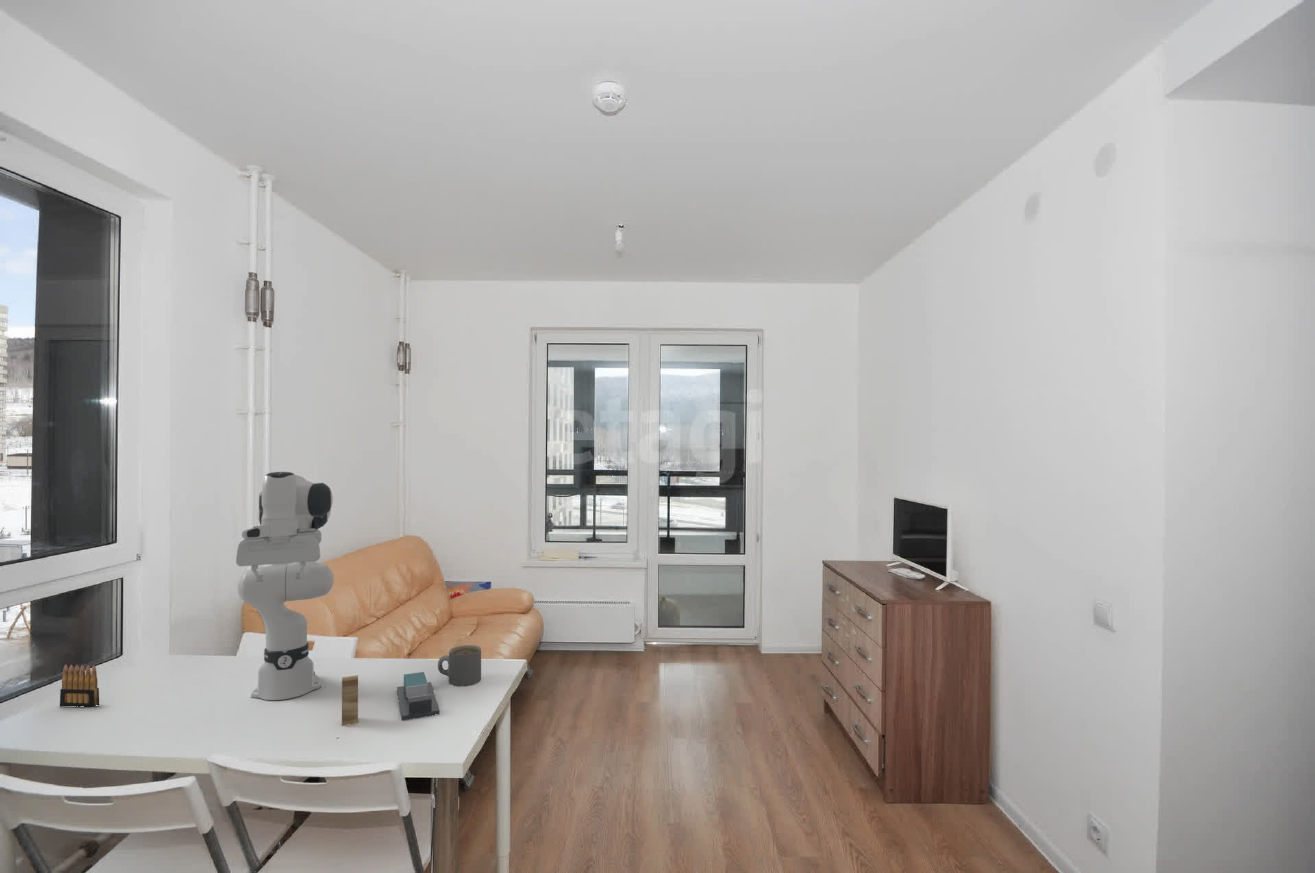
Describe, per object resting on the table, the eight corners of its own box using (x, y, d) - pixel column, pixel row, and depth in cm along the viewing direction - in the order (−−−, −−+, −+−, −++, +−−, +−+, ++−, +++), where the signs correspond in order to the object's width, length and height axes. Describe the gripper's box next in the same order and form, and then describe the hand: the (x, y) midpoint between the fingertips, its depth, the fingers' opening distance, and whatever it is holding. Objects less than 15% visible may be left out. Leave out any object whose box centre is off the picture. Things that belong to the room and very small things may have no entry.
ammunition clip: (59, 706, 192) (59, 665, 193) (65, 704, 194) (65, 663, 194) (93, 707, 192) (94, 666, 192) (99, 705, 194) (99, 664, 194)
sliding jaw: (403, 684, 206) (403, 674, 206) (424, 681, 209) (424, 671, 209) (406, 697, 195) (406, 687, 195) (427, 694, 198) (427, 684, 198)
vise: (396, 690, 205) (396, 677, 205) (430, 685, 209) (430, 672, 209) (401, 720, 183) (401, 705, 183) (439, 714, 187) (439, 699, 187)
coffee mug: (485, 675, 218) (485, 645, 218) (474, 687, 208) (474, 655, 208) (446, 674, 219) (446, 644, 219) (433, 685, 209) (433, 653, 209)
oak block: (342, 720, 183) (342, 677, 183) (357, 718, 184) (358, 675, 184) (341, 725, 179) (341, 681, 180) (357, 723, 181) (358, 679, 181)
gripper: (322, 527, 191) (321, 575, 190) (239, 531, 183) (238, 582, 182) (320, 527, 186) (320, 577, 184) (235, 532, 177) (234, 584, 176)
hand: (279, 580), depth 183 cm, fingers open, 8 cm apart
